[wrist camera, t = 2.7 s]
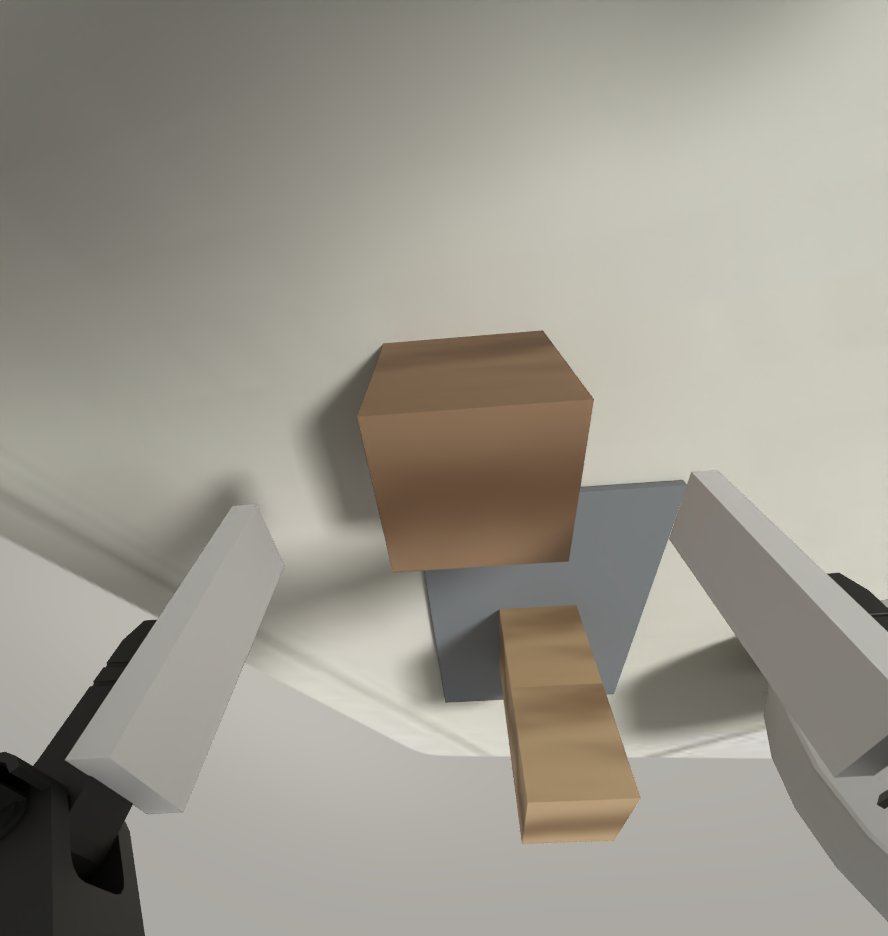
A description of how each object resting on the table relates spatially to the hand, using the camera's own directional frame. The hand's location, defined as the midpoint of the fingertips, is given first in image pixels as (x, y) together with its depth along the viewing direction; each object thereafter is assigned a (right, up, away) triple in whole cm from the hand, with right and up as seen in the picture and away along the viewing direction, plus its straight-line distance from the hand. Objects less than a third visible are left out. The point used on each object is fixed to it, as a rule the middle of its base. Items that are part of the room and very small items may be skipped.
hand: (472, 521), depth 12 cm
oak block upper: (+6, -13, +11) cm, 18 cm away
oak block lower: (+5, -10, +15) cm, 19 cm away
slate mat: (+5, -8, +15) cm, 18 cm away
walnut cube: (0, +4, +6) cm, 7 cm away
